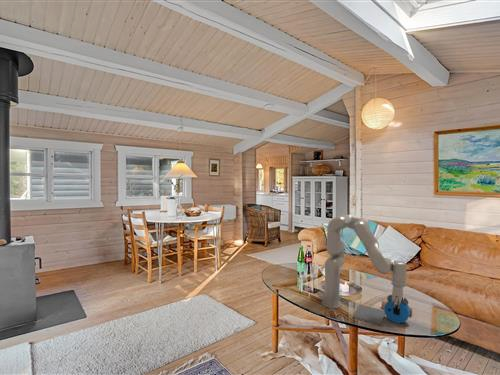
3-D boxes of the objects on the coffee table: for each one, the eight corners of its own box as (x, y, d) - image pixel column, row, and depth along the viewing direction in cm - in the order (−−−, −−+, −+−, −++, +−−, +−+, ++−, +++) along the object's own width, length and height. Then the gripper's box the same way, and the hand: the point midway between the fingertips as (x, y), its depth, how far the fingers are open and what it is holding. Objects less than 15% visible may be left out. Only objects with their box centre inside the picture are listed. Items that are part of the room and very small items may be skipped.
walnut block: (404, 315, 184) (404, 309, 184) (404, 312, 188) (405, 306, 187) (411, 317, 182) (411, 310, 182) (411, 314, 185) (412, 308, 185)
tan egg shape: (380, 308, 193) (381, 301, 192) (382, 305, 197) (382, 298, 197) (389, 310, 190) (389, 303, 190) (390, 307, 194) (390, 300, 194)
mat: (352, 317, 180) (352, 316, 179) (359, 305, 196) (359, 304, 196) (380, 325, 171) (380, 324, 171) (386, 312, 188) (386, 310, 188)
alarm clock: (409, 322, 175) (410, 297, 175) (408, 326, 170) (409, 301, 170) (385, 315, 183) (386, 292, 182) (383, 319, 178) (384, 295, 177)
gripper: (393, 276, 185) (392, 305, 186) (389, 285, 170) (388, 316, 171) (407, 279, 181) (405, 308, 182) (404, 288, 166) (402, 319, 167)
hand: (397, 311), depth 176 cm, fingers closed on alarm clock, 6 cm apart
